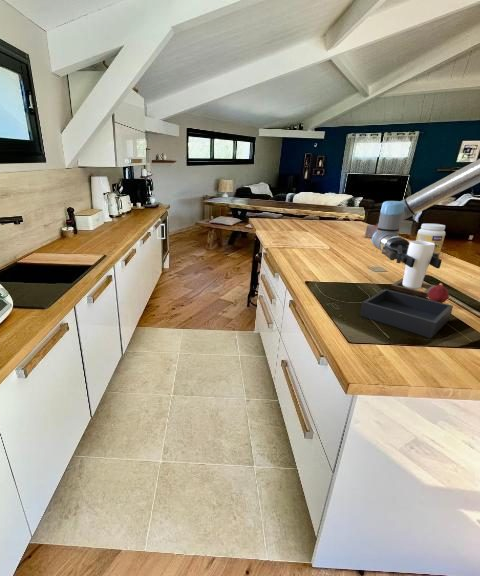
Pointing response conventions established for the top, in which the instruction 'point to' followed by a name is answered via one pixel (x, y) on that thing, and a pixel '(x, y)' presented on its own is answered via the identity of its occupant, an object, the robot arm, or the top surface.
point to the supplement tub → (432, 235)
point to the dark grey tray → (407, 312)
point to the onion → (438, 293)
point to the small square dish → (412, 291)
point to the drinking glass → (418, 263)
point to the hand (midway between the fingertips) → (425, 263)
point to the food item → (371, 230)
